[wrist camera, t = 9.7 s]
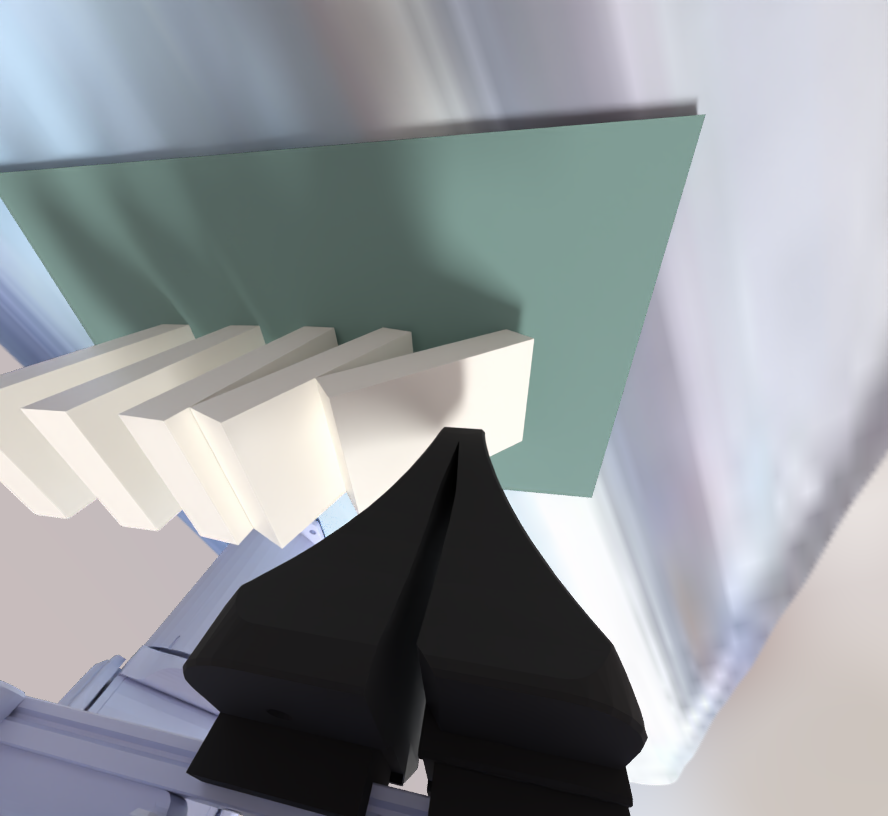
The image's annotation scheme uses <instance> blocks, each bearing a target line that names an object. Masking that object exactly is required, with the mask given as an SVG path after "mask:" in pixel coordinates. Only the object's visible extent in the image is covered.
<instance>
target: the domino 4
mask: <svg viewBox="0 0 888 816" xmlns="http://www.w3.org/2000/svg"><path fill="white" fill-rule="evenodd" d="M533 345H534V338H531V337H528V336H525V335H522V334H519V333H516V332H513V331H510V330H507V329H505V330H501V331H497V332H493V333H489V334H485V335H481V336H477V337H473V338H470V339H466V340H462V341H458V342H454V343H450V344H446V345H442V346H438V347H434V348H431V349H427V350H423V351H419V352H415V353H411V354H407V355H403V356H399V357H395V358H392V359H388V360H384V361H380V362H376V363H372V364H368V365H364V366H360V367H356V368H353V369H349V370H345V371H341V372H337V373H333V374H329V375H325V376H321V377H317V378H315V379H316V383H317V386H318V390H319V393H320V397H321V401H322V404H323V408H324V412H325V415H326V419H327V423H328V426H329V430H330V434H331V437H332V441H333V444H334V448H335V452H336V455H337V459H338V463H339V466H340V470H341V474H342V477H343V481H344V485H345V488H346V492H347V494H348V496H349V498H350V500H351V502H352V504H353V506H354V508H355V509H356V511H357V513H358V514H360V513H361V512H362V511H364V510H365V509H366V508H367V507H369V506H370V505H371V504H372V503H373V502H375V501H376V500H377V499H378V498H379V497H381V496H382V495H383V494H384V493H385V492H386V491H387V490H388V489H389V488H390V487H392V486H393V485H394V484H395V483H396V482H397V481H398V480H399V479H400V478H401V477H402V476H403V475H404V474H405V473H406V472H407V471H408V470H409V468H410V467H411V466H412V465H413V464H414V463H415V462H416V461H417V460H418V458H419V457H420V456H421V455H422V454H423V453H424V452H425V450H426V449H427V448H428V447H429V445H430V444H431V443H432V442H433V440H434V439H435V438H436V436H437V435H438V434H439V432H440V431H441V429H443V428H444V427H456V428H471V429H482V430H483V431H484V432H485V439H486V445H487V449H488V452H489V456H492V455H494V454H496V453H498V452H500V451H502V450H504V449H506V448H508V447H511V446H513V445H515V444H517V443H519V442H521V441H522V438H523V430H524V421H525V413H526V405H527V396H528V388H529V379H530V371H531V362H532V354H533Z"/></svg>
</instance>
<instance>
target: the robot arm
mask: <svg viewBox="0 0 888 816" xmlns="http://www.w3.org/2000/svg"><path fill="white" fill-rule="evenodd" d="M125 660H126V659H125V658H123V657H121V656H120V655H115V656H114V657H112V658H111V659H110V660H105V661H102V662H100V663H97V664H95V665H94V666H93V667H92V668H91V669H90V670H89V671H88V672H87V673H86V674H85V675H84V676H83V677H82V678H81V679H80V680H79V681H78V682H77V683H76V684H75V685H74V686H73V687H72V689H71V690H70V691H69V692H68V693H67V694H66V695H65V696H64V697H63V698H62V699H61V700H60V701H59V703H53V702H49V701H45V700H41V699H36V698H33V697H29V696H25V692H23V691H21V690H20V689H18V688H16V687H14V686H12V685H10V684H8V683H6V682H4V681H1V680H0V816H238V815H239V814H240V815H243V816H630V812H629V807H632V806H633V798H632V793H631V789H630V784H629V780H628V775H627V771H626V765H627V764H629V763H630V762H631V761H632V760H633V759H634V758H635V757H636V756H637V755H638V754H639V753H640V752H641V750H642V748H643V747H644V745H645V742H646V740H647V738H648V737H647V734H646V731H645V727H644V721H643V718H642V714H641V711H640V708H639V705H638V703H637V700H636V697H635V694H634V692H633V689H632V686H631V684H630V682H629V679H628V677H627V674H626V672H625V669H624V667H623V665H622V663H621V661H620V658H619V656H618V654H617V652H616V650H615V648H614V645H613V644H612V643H611V642H610V640H609V639H608V638H607V637H606V636H605V635H604V633H603V632H602V631H601V630H600V629H599V628H598V627H597V625H596V624H595V623H594V622H593V621H592V620H591V619H590V617H589V616H588V615H587V614H586V613H585V611H584V610H583V609H582V608H581V607H580V605H579V604H578V603H577V602H576V601H575V599H574V598H573V597H572V596H571V594H570V593H569V592H568V590H567V589H566V588H565V587H564V585H563V584H562V583H561V581H560V580H559V579H558V578H557V576H556V575H555V574H554V572H553V571H552V569H551V568H550V567H549V565H548V564H547V562H546V561H545V559H544V558H543V557H542V555H541V554H540V552H539V551H538V550H537V548H536V547H535V545H534V544H533V542H532V541H531V539H530V538H529V536H528V535H527V533H526V531H525V530H524V528H523V526H522V525H521V523H520V521H519V520H518V518H517V516H516V514H515V513H514V511H513V509H512V507H511V505H510V503H509V501H508V499H507V497H506V495H505V493H504V491H503V489H502V487H501V485H500V482H499V480H498V478H497V475H496V473H495V470H494V467H493V465H492V462H491V459H490V456H489V452H488V449H487V445H486V439H485V432H484V431H483V430H482V429H471V428H456V427H444V428H443V429H441V431H440V432H439V434H438V435H437V436H436V438H435V439H434V440H433V442H432V443H431V444H430V445H429V447H428V448H427V449H426V450H425V452H424V453H423V454H422V455H421V456H420V457H419V458H418V460H417V461H416V462H415V463H414V464H413V465H412V466H411V467H410V468H409V470H408V471H407V472H406V473H405V474H404V475H403V476H402V477H401V478H400V479H399V480H398V481H397V482H396V483H395V484H394V485H393V486H392V487H390V488H389V489H388V490H387V491H386V492H385V493H384V494H383V495H382V496H381V497H379V498H378V499H377V500H376V501H375V502H373V503H372V504H371V505H370V506H369V507H367V508H366V509H365V510H364V511H362V512H361V513H360V514H358V515H357V516H356V517H354V518H353V519H352V520H350V521H349V522H348V523H346V524H345V525H344V526H342V527H341V528H339V529H338V530H336V531H335V532H334V533H332V534H330V535H329V536H327V537H326V538H324V535H323V533H322V530H321V527H320V524H319V523H318V522H317V521H316V520H314V521H313V522H312V523H311V524H310V525H309V526H307V527H306V528H305V529H304V530H303V531H302V532H301V533H299V534H298V535H297V536H296V537H295V538H294V539H293V540H292V541H290V542H289V543H288V544H287V545H286V546H285V547H284V548H283V549H282V548H280V547H279V546H278V545H276V544H275V543H273V542H272V541H271V540H269V539H268V538H266V537H265V536H264V535H262V534H261V533H259V532H258V531H257V530H255V529H254V528H253V530H252V531H251V532H250V533H249V534H248V535H247V536H246V537H245V538H244V539H243V541H242V542H241V543H240V544H239V545H235V544H231V543H229V545H228V546H227V547H226V548H225V549H224V551H223V552H222V553H221V554H220V555H219V556H218V558H217V559H216V560H215V561H214V562H213V564H212V565H211V566H210V567H209V568H208V570H207V571H206V572H205V573H204V574H203V576H202V577H201V578H200V579H199V580H198V581H197V583H196V584H195V585H194V586H193V588H192V589H191V590H190V591H189V592H188V593H187V595H186V596H185V597H184V598H183V599H182V601H181V602H180V603H179V604H178V605H177V606H176V608H175V609H174V610H173V611H172V612H171V614H170V615H169V616H168V617H167V618H166V620H165V621H164V622H163V623H162V624H161V626H160V627H159V628H158V629H157V630H156V632H155V633H154V634H153V635H152V636H151V637H150V639H149V640H148V641H147V642H146V644H145V645H144V646H142V647H141V648H140V649H139V650H138V651H137V652H136V653H135V654H134V655H133V656H132V657H131V659H130V660H129V661H128V662H127V663H126V664H125V666H124V667H123V668H122V669H120V668H119V667H120V666H121V665H122V663H123V662H124V661H125ZM419 759H423V761H424V765H425V770H426V774H427V778H428V786H427V793H428V796H426V795H422V794H417V793H414V792H409V791H405V790H401V789H397V788H393V787H389V786H388V784H389V783H391V784H395V785H399V786H403V783H404V782H406V781H407V780H408V779H409V777H411V775H412V774H413V773H414V772H415V771H416V770H417V768H418V763H419Z"/></svg>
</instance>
